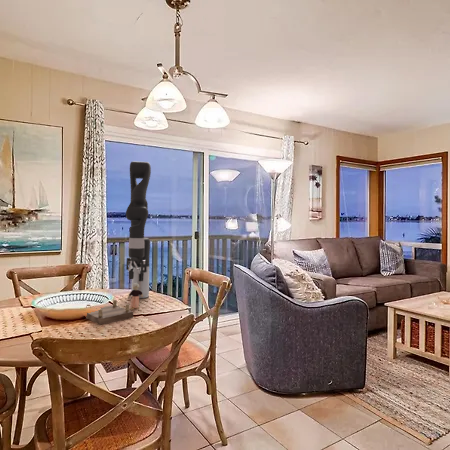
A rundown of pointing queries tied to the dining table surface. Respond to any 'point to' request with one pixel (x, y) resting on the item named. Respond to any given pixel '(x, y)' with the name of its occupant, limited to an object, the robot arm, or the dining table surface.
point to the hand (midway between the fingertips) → (136, 280)
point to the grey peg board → (110, 314)
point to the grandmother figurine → (135, 296)
